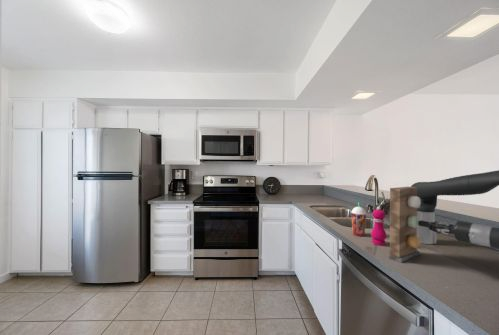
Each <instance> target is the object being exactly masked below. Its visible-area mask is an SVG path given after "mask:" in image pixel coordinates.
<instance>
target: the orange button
mask: <svg viewBox="0 0 499 335" xmlns="http://www.w3.org/2000/svg"><path fill="white" fill-rule="evenodd" d="M407 244H408V246H410V247H414V248H417V249H419V248H420V246H421V243H420V238H419V237H416V236H412V235H409V237H408V239H407Z"/></svg>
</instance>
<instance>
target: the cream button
mask: <svg viewBox="0 0 499 335" xmlns="http://www.w3.org/2000/svg"><path fill="white" fill-rule="evenodd" d="M407 203H408V206H409V207H414V208H419V207H420V203H421V200H420V198H419V197H416V196H409V197H408V201H407Z"/></svg>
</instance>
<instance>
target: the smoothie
mask: <svg viewBox="0 0 499 335" xmlns="http://www.w3.org/2000/svg"><path fill="white" fill-rule="evenodd" d="M350 214H351V216H350V218H351V233H352V234H353V235H354V236H356V235H357V237H363V235H365V234H366V222H367V221H366V220H367V212H366V210H365V209H364V208H363V207H362V206H360V202H357V206H355V207H353V208H352V210H351V211H350Z"/></svg>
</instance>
